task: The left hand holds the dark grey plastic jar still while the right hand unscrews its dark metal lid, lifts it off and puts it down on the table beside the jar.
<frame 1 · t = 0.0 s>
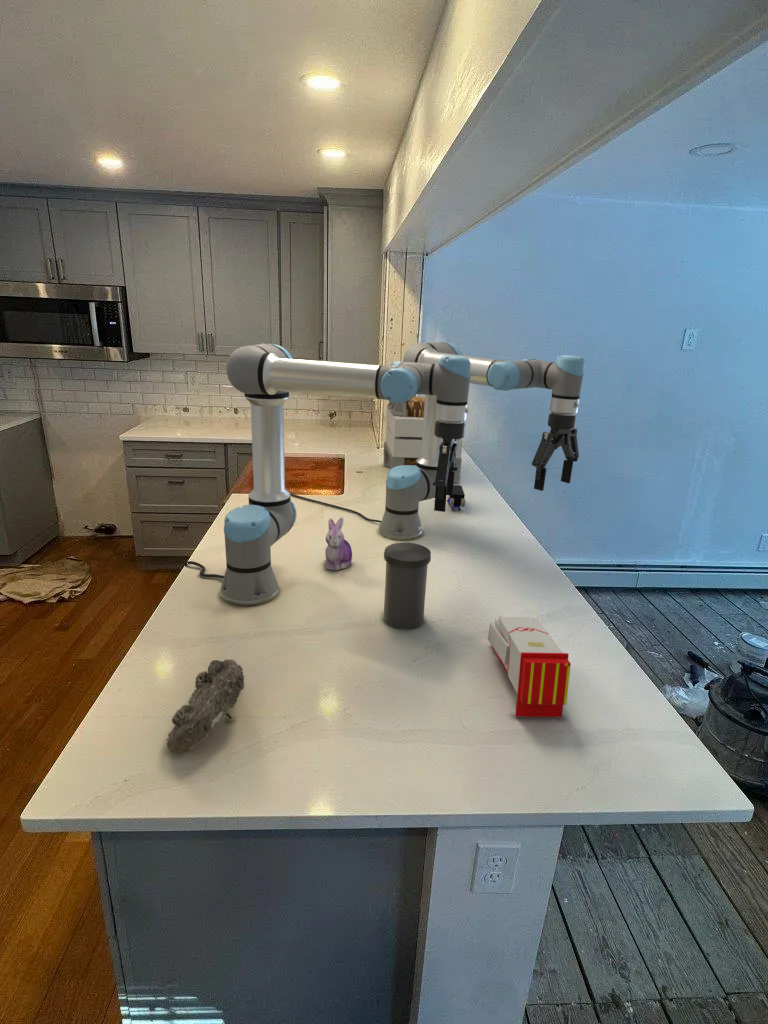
left hand: (443, 502, 147), 28 cm above the counter, tool pointing down, fingers open, 13 cm apart
right hand: (552, 485, 166), 28 cm above the counter, tool pointing down, fingers open, 13 cm apart
lid: (407, 552, 139), point 18 cm above the counter, screwed on, not yet turned
fossil: (212, 717, 108), on the counter
figurine character: (454, 506, 230), on the counter
white slatted box: (419, 473, 275), on the counter
figurine: (338, 565, 174), on the counter
jar: (403, 618, 146), on the counter
toy: (520, 675, 125), on the counter
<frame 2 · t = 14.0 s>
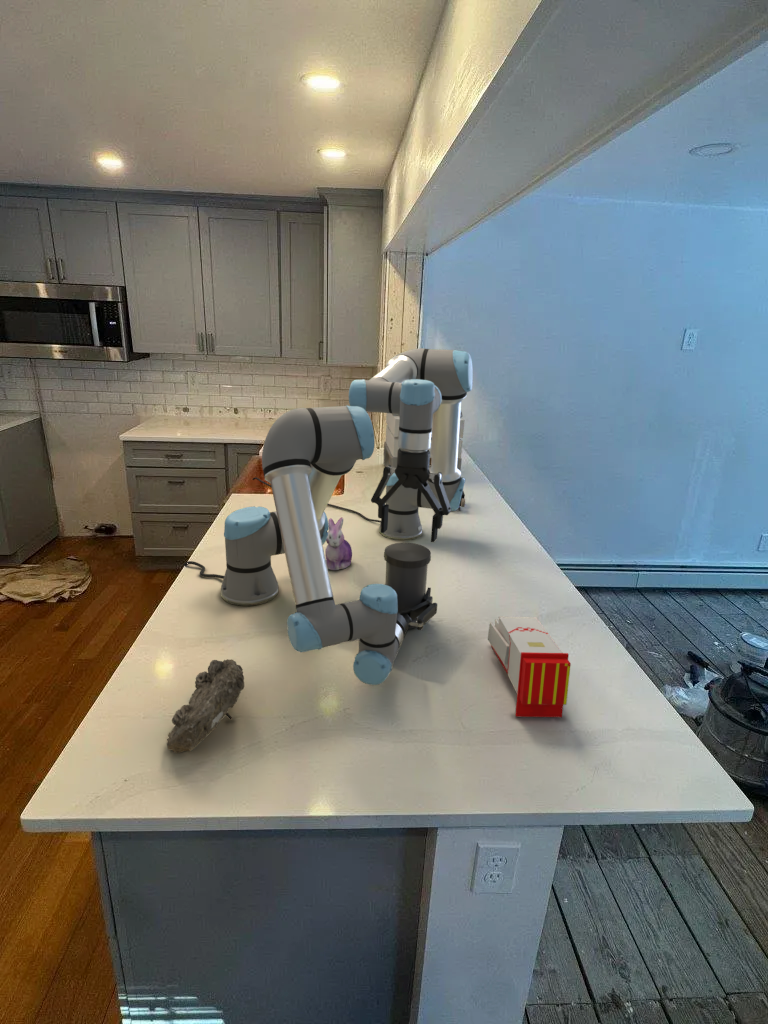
left hand: (408, 588, 147), 6 cm above the counter, tool horizontal, fingers closed on jar, 10 cm apart
right hand: (408, 535, 138), 23 cm above the counter, tool pointing down, fingers open, 12 cm apart
jar: (403, 618, 146), on the counter, touching left hand
everything else where it was.
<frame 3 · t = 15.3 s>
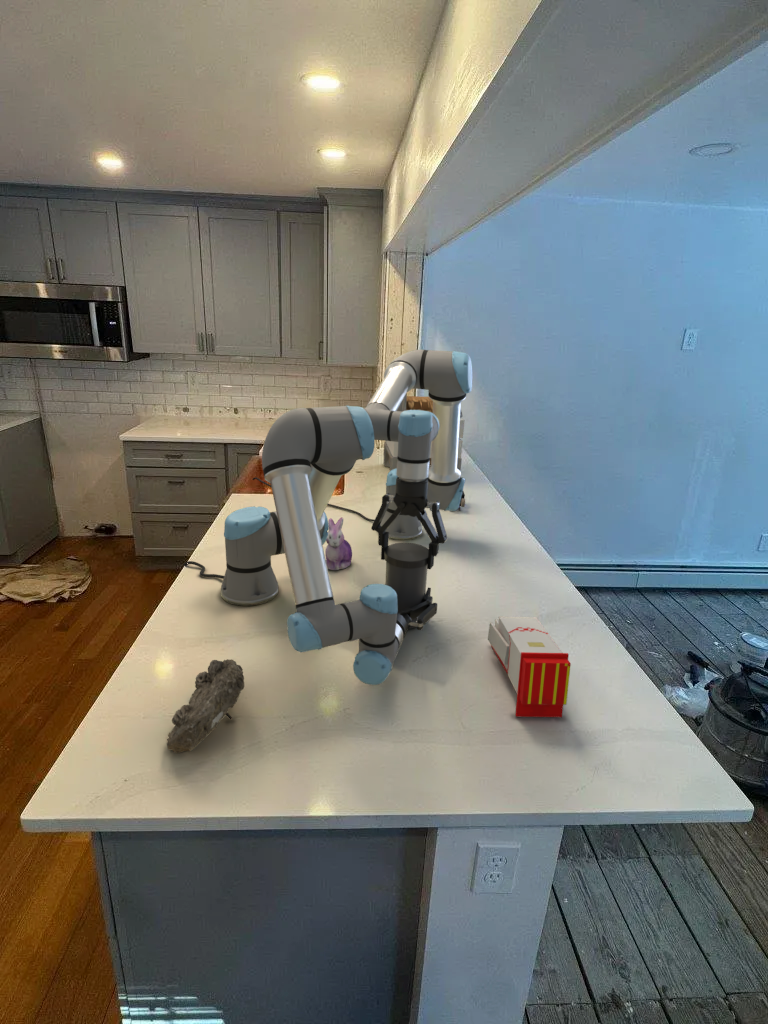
left hand: (408, 589, 147), 6 cm above the counter, tool horizontal, fingers closed on jar, 10 cm apart
right hand: (406, 562, 140), 16 cm above the counter, tool pointing down, fingers closed on lid, 11 cm apart
lid: (407, 552, 139), point 18 cm above the counter, screwed on, not yet turned, touching right hand
jar: (403, 618, 146), on the counter, touching left hand
everything else where it was.
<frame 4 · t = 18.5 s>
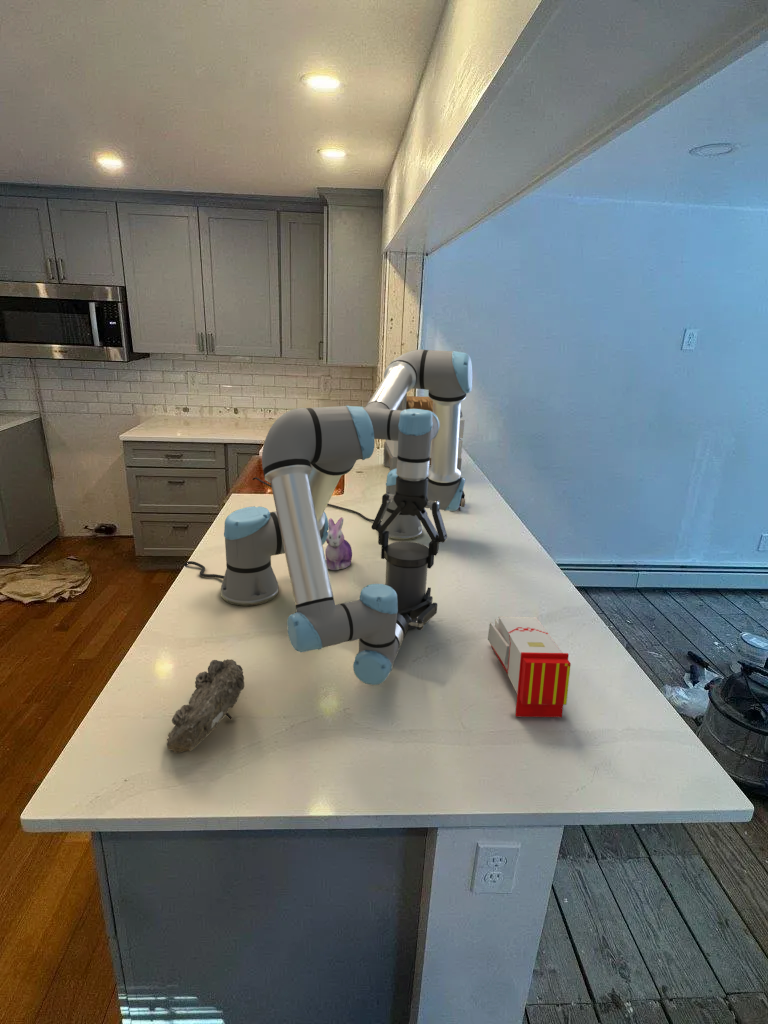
left hand: (408, 588, 147), 6 cm above the counter, tool horizontal, fingers closed on jar, 10 cm apart
right hand: (407, 561, 140), 16 cm above the counter, tool pointing down, fingers closed on lid, 11 cm apart
lid: (407, 551, 139), point 19 cm above the counter, turned 97° so far, risen 0.3 cm, still on its thread, touching right hand
jar: (403, 618, 146), on the counter, touching left hand
everything else where it was.
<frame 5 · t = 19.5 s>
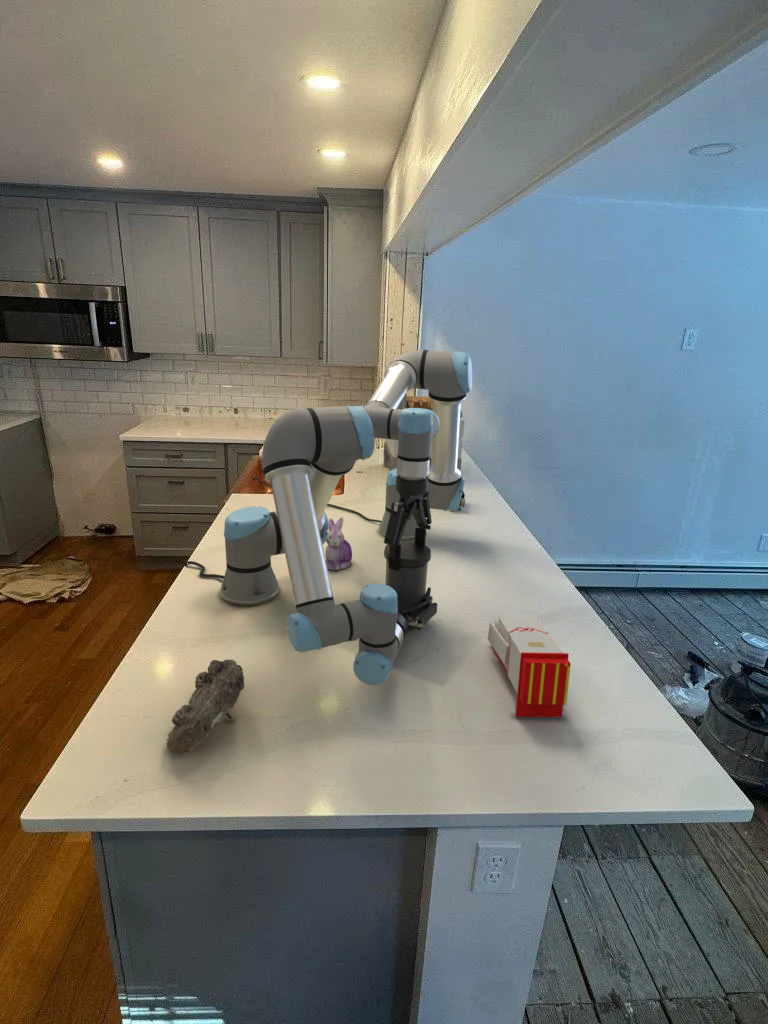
left hand: (408, 588, 147), 6 cm above the counter, tool horizontal, fingers closed on jar, 10 cm apart
right hand: (407, 560, 140), 16 cm above the counter, tool pointing down, fingers closed on lid, 11 cm apart
lid: (407, 550, 139), point 19 cm above the counter, off its thread, touching right hand
jar: (403, 618, 146), on the counter, touching left hand
everything else where it was.
when the right hand's fingers open (0 cm above the counter, at t = 25.2 s): lid drops 1 cm, point 2 cm above the counter.
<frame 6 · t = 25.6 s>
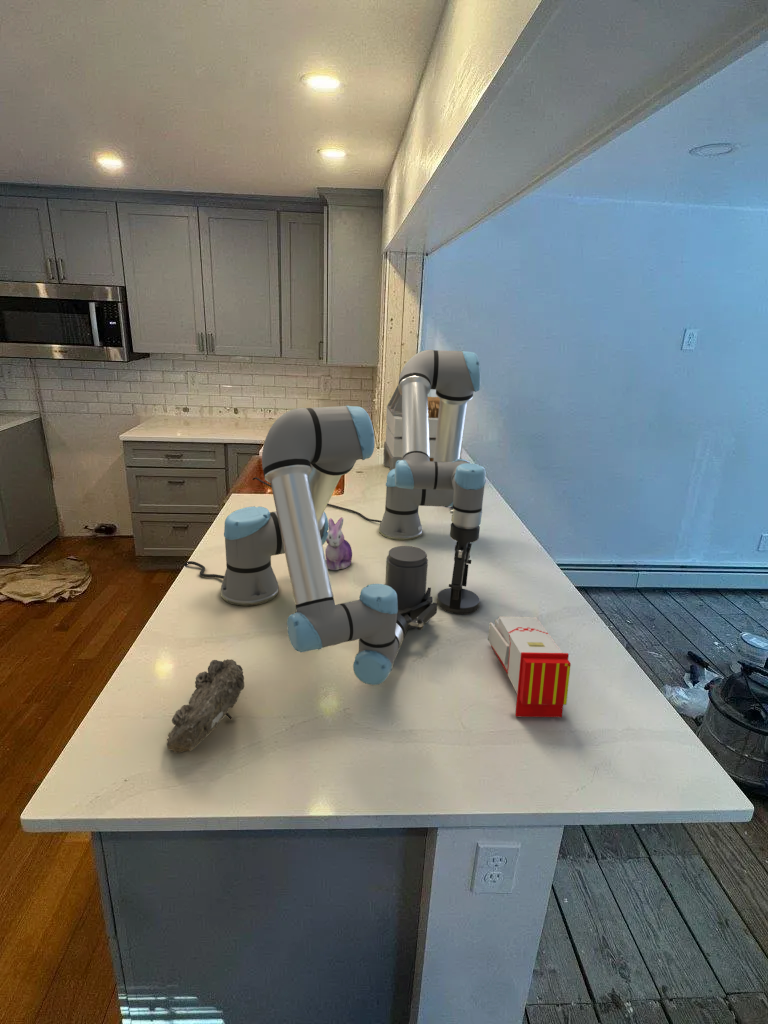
left hand: (408, 588, 147), 6 cm above the counter, tool horizontal, fingers closed on jar, 10 cm apart
right hand: (458, 596, 154), 2 cm above the counter, tool pointing down, fingers open, 13 cm apart
lid: (458, 598, 154), point 2 cm above the counter, off its thread
jar: (403, 618, 146), on the counter, touching left hand
everything else where it was.
when the left hand's fingers open (6 cm above the counter, at t = 26.2 s): jar stays where it is, on the counter.
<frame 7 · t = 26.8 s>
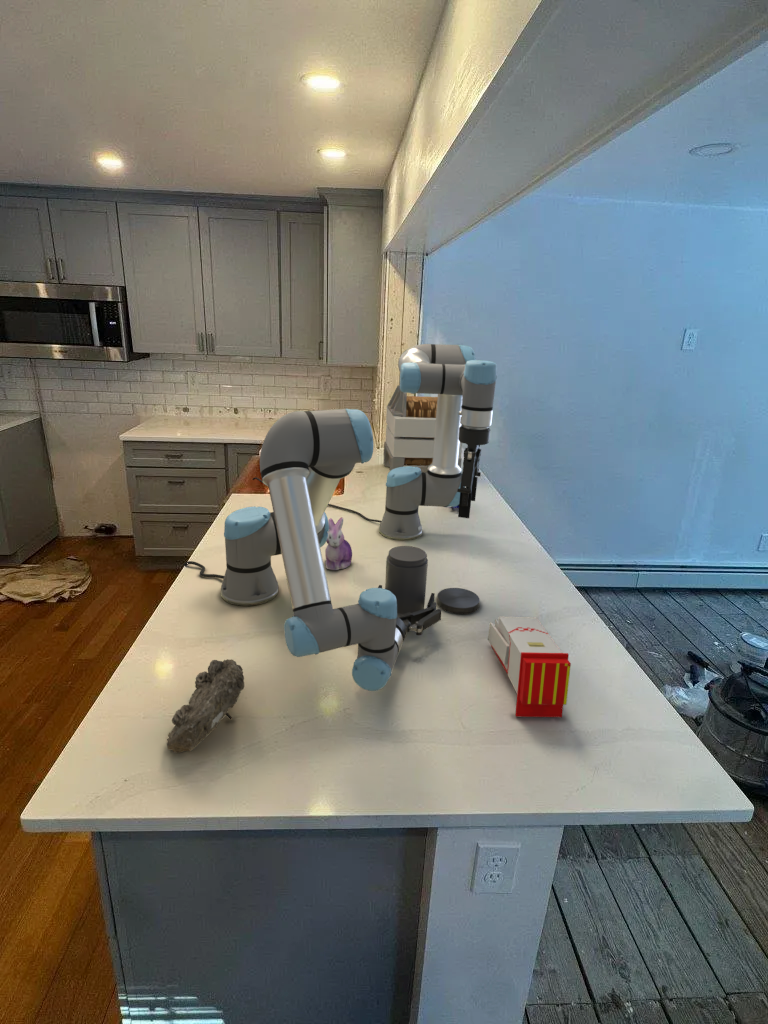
left hand: (406, 593, 144), 7 cm above the counter, tool horizontal, fingers open, 13 cm apart
right hand: (466, 508, 145), 27 cm above the counter, tool pointing down, fingers open, 13 cm apart
jar: (403, 618, 146), on the counter
everything else where it was.
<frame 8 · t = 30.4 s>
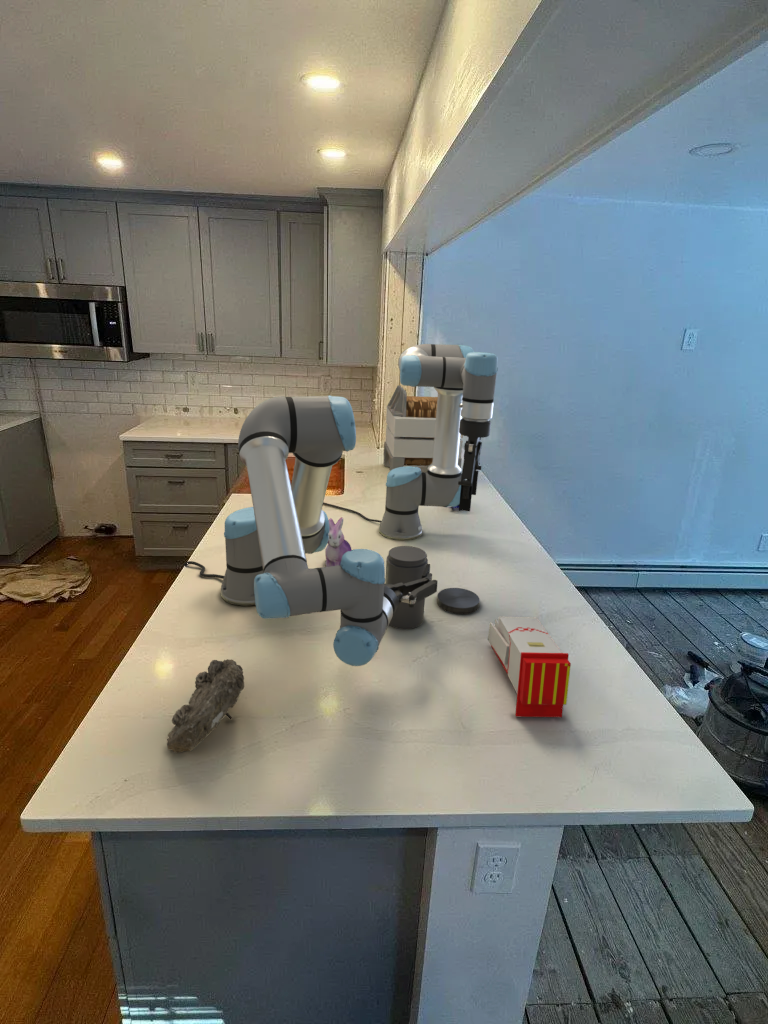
left hand: (399, 564, 131), 19 cm above the counter, tool horizontal, fingers open, 13 cm apart
right hand: (467, 502, 144), 29 cm above the counter, tool pointing down, fingers open, 13 cm apart
nothing on the counter moved.
at the end: lid came off its thread; lid point 1.5 cm above the counter; the left hand is holding nothing; the right hand is holding nothing; jar tilted 0°; jar moved 0.0 cm from its start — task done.
